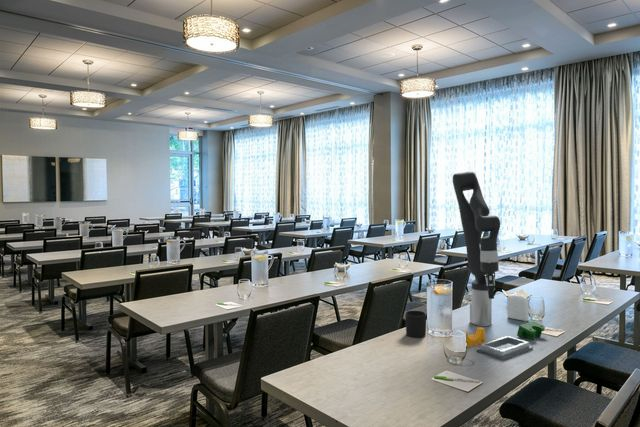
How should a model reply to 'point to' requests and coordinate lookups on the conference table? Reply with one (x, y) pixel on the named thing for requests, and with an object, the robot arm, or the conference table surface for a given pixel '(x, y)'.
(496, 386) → the conference table surface
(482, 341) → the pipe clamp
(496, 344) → the grey metal tray
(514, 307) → the white napkin holder
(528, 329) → the clamp
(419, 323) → the pen holder
